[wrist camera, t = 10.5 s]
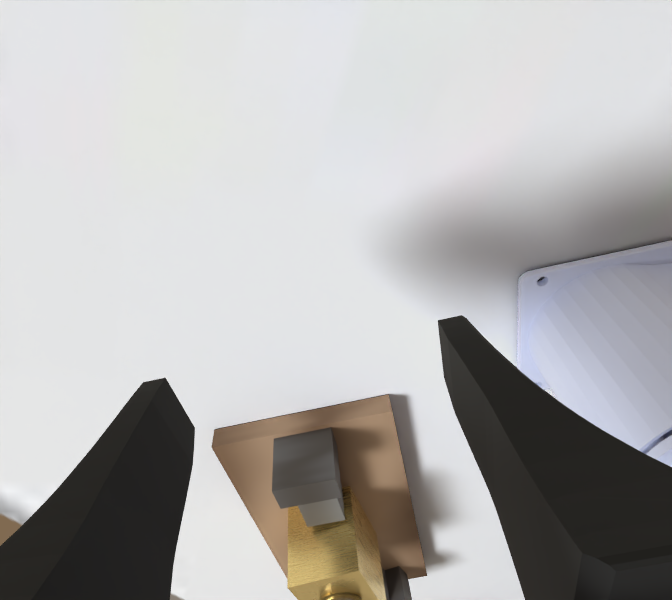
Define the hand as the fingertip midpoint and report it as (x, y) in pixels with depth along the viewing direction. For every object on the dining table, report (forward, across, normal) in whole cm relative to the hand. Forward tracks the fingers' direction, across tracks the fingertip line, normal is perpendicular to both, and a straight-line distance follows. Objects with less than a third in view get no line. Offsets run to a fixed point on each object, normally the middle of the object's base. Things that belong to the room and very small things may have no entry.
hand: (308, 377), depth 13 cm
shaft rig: (+9, +3, +21) cm, 23 cm away
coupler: (+8, +3, +21) cm, 22 cm away
